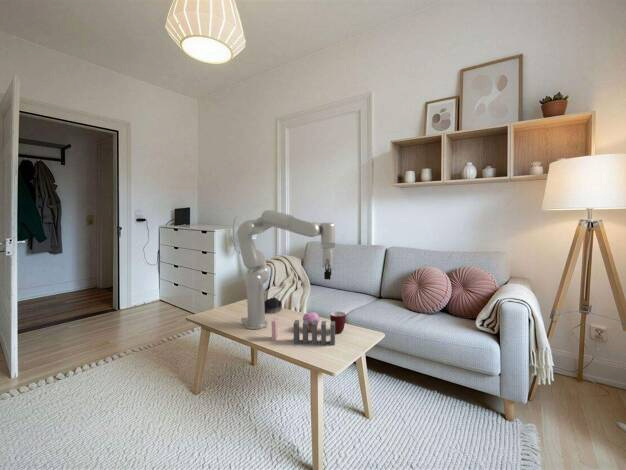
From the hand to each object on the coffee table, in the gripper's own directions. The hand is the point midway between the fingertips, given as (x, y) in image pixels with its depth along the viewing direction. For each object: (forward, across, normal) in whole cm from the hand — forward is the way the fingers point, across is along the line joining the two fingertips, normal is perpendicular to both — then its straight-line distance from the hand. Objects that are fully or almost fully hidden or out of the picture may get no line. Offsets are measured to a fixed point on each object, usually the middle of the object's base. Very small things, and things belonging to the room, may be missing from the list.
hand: (327, 277), depth 165 cm
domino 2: (+29, +17, -10) cm, 35 cm away
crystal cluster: (+30, -29, -39) cm, 57 cm away
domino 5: (+29, +17, +3) cm, 34 cm away
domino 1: (+29, +16, -15) cm, 36 cm away
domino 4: (+29, +17, -1) cm, 33 cm away
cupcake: (+29, +2, -9) cm, 31 cm away
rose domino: (+29, +14, -26) cm, 42 cm away
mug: (+29, +2, +6) cm, 30 cm away
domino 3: (+29, +17, -6) cm, 34 cm away
